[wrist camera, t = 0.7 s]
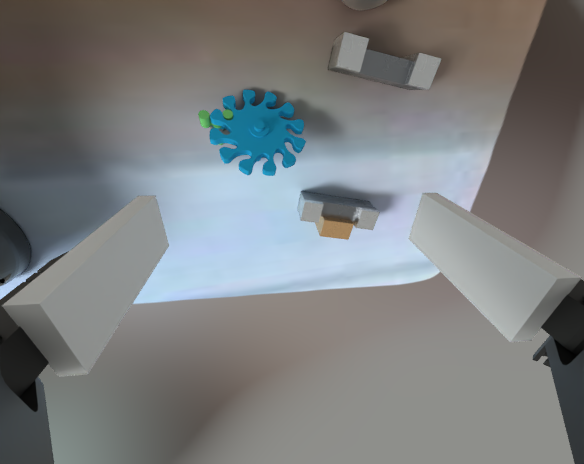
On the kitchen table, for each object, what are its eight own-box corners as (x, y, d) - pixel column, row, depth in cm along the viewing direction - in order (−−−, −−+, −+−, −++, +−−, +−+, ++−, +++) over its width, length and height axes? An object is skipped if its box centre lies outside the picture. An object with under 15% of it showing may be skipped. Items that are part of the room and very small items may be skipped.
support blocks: (294, 219, 35) (297, 233, 31) (334, 39, 25) (345, 31, 21) (359, 227, 37) (368, 242, 33) (419, 63, 27) (442, 58, 23)
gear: (316, 104, 26) (294, 182, 23) (304, 138, 32) (285, 205, 29) (217, 67, 25) (179, 145, 22) (222, 110, 31) (193, 176, 28)
